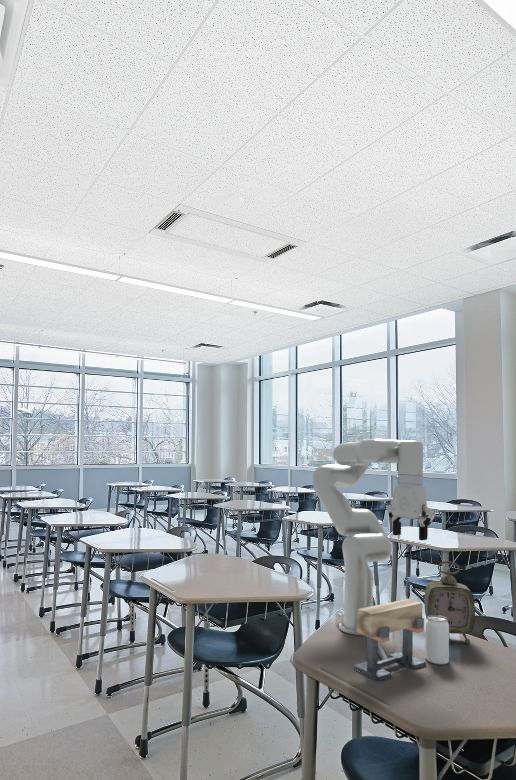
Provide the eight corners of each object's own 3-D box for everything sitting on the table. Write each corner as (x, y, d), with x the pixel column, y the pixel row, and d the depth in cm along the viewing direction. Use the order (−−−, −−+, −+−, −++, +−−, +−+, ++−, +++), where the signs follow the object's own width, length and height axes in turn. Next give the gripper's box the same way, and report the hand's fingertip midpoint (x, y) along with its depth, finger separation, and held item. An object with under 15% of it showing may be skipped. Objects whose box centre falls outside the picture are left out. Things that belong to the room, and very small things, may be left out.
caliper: (366, 641, 171) (367, 620, 172) (370, 641, 171) (370, 620, 172) (386, 666, 151) (386, 643, 151) (389, 666, 151) (390, 643, 152)
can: (450, 666, 152) (450, 622, 153) (426, 663, 153) (426, 620, 155) (447, 658, 158) (447, 615, 160) (424, 655, 160) (424, 613, 161)
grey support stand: (353, 669, 147) (354, 619, 149) (400, 655, 159) (400, 609, 161) (378, 681, 140) (379, 629, 142) (425, 665, 152) (426, 617, 153)
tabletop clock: (427, 642, 171) (428, 562, 174) (423, 633, 180) (423, 556, 183) (475, 646, 169) (474, 565, 172) (468, 637, 178) (468, 559, 181)
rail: (357, 631, 146) (357, 609, 147) (408, 619, 159) (408, 598, 160) (371, 637, 142) (371, 614, 143) (422, 624, 155) (422, 602, 156)
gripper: (380, 478, 170) (379, 534, 168) (426, 482, 156) (426, 542, 154) (395, 478, 174) (394, 532, 172) (441, 482, 160) (441, 541, 158)
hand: (409, 537), depth 163 cm, fingers open, 9 cm apart
